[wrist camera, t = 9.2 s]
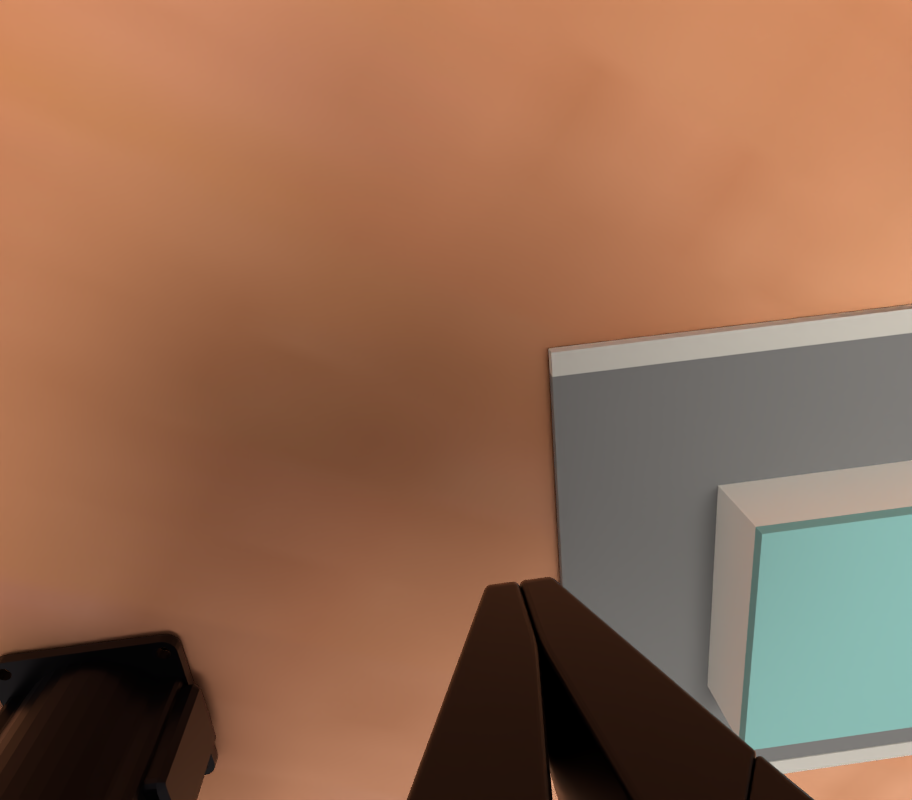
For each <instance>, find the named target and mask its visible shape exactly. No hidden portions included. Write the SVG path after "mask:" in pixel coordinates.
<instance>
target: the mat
mask: <svg viewBox="0 0 912 800" xmlns="http://www.w3.org/2000/svg"><path fill="white" fill-rule="evenodd" d="M548 351H549V370H550V390H551V409H552V428H553V448H554V467H555V486H556V506H557V525H558V545H559V564H560V583H561V585H562V586H563V587H564V588H565V589H567V590H568V591H569V592H570V593H571V594H573V595H574V596H575V597H576V598H577V599H578V600H580V601H581V602H582V603H583V604H584V605H585V606H587V607H588V608H589V609H590V610H591V611H592V612H594V613H595V614H596V615H597V616H598V617H599V618H601V619H602V620H603V621H604V622H605V623H606V624H608V625H609V626H610V627H611V628H612V629H613V630H615V631H616V632H617V633H618V634H619V635H620V636H622V637H623V638H624V639H625V640H626V641H628V642H629V643H630V644H631V645H632V646H633V647H635V648H636V649H637V650H638V651H639V652H640V653H642V654H643V655H644V656H645V657H646V658H647V659H649V660H650V661H651V662H652V663H653V664H654V665H656V666H657V667H658V668H659V669H660V670H661V671H663V672H664V673H665V674H666V675H667V676H668V677H670V678H671V679H672V680H673V681H674V682H675V683H677V684H678V685H679V686H680V687H681V688H683V689H684V690H685V691H686V692H687V693H688V694H690V695H691V696H692V697H693V698H694V699H695V700H697V701H698V702H699V703H700V704H701V705H702V706H704V707H705V708H706V709H707V710H708V711H709V712H711V713H712V714H713V715H714V716H715V717H716V718H718V719H719V720H720V721H721V722H722V723H723V724H725V725H726V726H727V727H728V728H729V729H731V727H730V725H729V724H728V722H727V720H726V718H725V716H724V715H723V713H722V711H721V709H720V707H719V706H718V704H717V702H716V700H715V698H714V697H713V695H712V693H711V691H710V689H709V688H708V686H707V685H708V666H709V647H710V629H711V610H712V591H713V572H714V553H715V535H716V516H717V497H718V485H725V484H733V483H741V482H749V481H756V480H764V479H772V478H779V477H787V476H795V475H803V474H810V473H818V472H826V471H834V470H841V469H849V468H857V467H864V466H872V465H880V464H888V463H895V462H903V461H911V460H912V304H910V305H902V306H894V307H885V308H877V309H869V310H861V311H852V312H844V313H836V314H828V315H819V316H811V317H803V318H795V319H786V320H778V321H770V322H762V323H753V324H745V325H737V326H729V327H720V328H712V329H704V330H696V331H687V332H679V333H671V334H663V335H654V336H646V337H638V338H630V339H621V340H613V341H605V342H597V343H589V344H580V345H572V346H564V347H556V348H548ZM731 730H732V729H731ZM755 752H756V757H757V756H762V757H764V758H765V759H766V760H767V761H768V762H770V763H771V764H772V765H773V766H774V767H775V768H777V769H778V770H779V771H780V772H781V773H782V774H785V773H792V772H799V771H806V770H813V769H820V768H826V767H833V766H840V765H847V764H854V763H861V762H868V761H875V760H882V759H889V758H895V757H902V756H909V755H912V727H910V728H903V729H896V730H889V731H882V732H875V733H868V734H861V735H854V736H847V737H840V738H833V739H826V740H819V741H812V742H805V743H798V744H791V745H784V746H777V747H770V748H763V749H756V750H755Z"/></svg>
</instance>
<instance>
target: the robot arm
mask: <svg viewBox="0 0 912 800" xmlns="http://www.w3.org/2000/svg"><path fill="white" fill-rule="evenodd" d="M161 647H162V648H167V649H169V651H165V650H163V649H161ZM5 669H6V670H8V671H10V672H8V671H6V670H5ZM0 701H1V703H2V705H3V707H2V709H1V710H0V800H197V798H198V794H199V791H200V788H201V784H202V781H203V778H204V775H206V774H210V773H211V772H212V771H213V770H214V768H215V765H216V762H217V759H218V758H217V752H216V749H215V746H214V742H215V739H216V735H215V732H214V729H213V725H212V722H211V719H210V716H209V713H208V710H207V707H206V704H205V701H204V698H203V694H202V691H201V689H200V688H199V687H198V686H197V685H196V684H194V682H193V679H192V676H191V672H190V669H189V666H188V663H187V660H186V657H185V654H184V651H183V648H182V645H181V642H180V641H179V639H178V638H176V637H175V636H173V635H170V634H160V635H152V636H145V637H137V638H130V639H122V640H115V641H107V642H100V643H92V644H85V645H77V646H70V647H62V648H55V649H47V650H40V651H32V652H25V653H17V654H10V655H4V656H1V657H0ZM550 773H551V777H552V780H553V784H554V787H555V791H556V794H557V797H558V800H814V799H813V798H811V797H810V796H809V795H808V794H807V793H805V792H804V791H803V790H802V789H800V788H799V787H798V786H797V785H796V784H794V783H793V782H792V781H791V780H790V779H788V778H787V777H786V776H785V775H784V774H782V773H781V772H780V771H779V770H778V769H777V768H775V767H774V766H773V765H772V764H771V763H770V762H768V761H767V760H766V759H765V758H764V757H762V756H757V757H756V752H755V750H754V749H753V748H752V747H750V746H749V745H748V744H747V743H746V742H745V741H743V740H742V739H741V738H740V737H739V736H738V735H736V734H735V733H734V732H733V731H732V730H731V729H729V728H728V727H727V726H726V725H725V724H723V723H722V722H721V721H720V720H719V719H718V718H716V717H715V716H714V715H713V714H712V713H711V712H709V711H708V710H707V709H706V708H705V707H704V706H702V705H701V704H700V703H699V702H698V701H697V700H695V699H694V698H693V697H692V696H691V695H690V694H688V693H687V692H686V691H685V690H684V689H683V688H681V687H680V686H679V685H678V684H677V683H675V682H674V681H673V680H672V679H671V678H670V677H668V676H667V675H666V674H665V673H664V672H663V671H661V670H660V669H659V668H658V667H657V666H656V665H654V664H653V663H652V662H651V661H650V660H649V659H647V658H646V657H645V656H644V655H643V654H642V653H640V652H639V651H638V650H637V649H636V648H635V647H633V646H632V645H631V644H630V643H629V642H628V641H626V640H625V639H624V638H623V637H622V636H620V635H619V634H618V633H617V632H616V631H615V630H613V629H612V628H611V627H610V626H609V625H608V624H606V623H605V622H604V621H603V620H602V619H601V618H599V617H598V616H597V615H596V614H595V613H594V612H592V611H591V610H590V609H589V608H588V607H587V606H585V605H584V604H583V603H582V602H581V601H580V600H578V599H577V598H576V597H575V596H574V595H573V594H571V593H570V592H569V591H568V590H567V589H565V588H564V587H563V586H562V585H561V584H560V583H558V582H557V581H556V580H555V579H553V578H551V577H545V578H538V579H530V580H524V581H522V582H521V584H520V586H519V585H518V583H516V582H508V583H500V584H493V585H488V586H487V587H486V588H485V590H484V592H483V595H482V598H481V601H480V603H479V606H478V609H477V611H476V614H475V617H474V619H473V622H472V625H471V628H470V630H469V633H468V636H467V638H466V641H465V644H464V647H463V649H462V652H461V655H460V657H459V660H458V663H457V665H456V668H455V671H454V674H453V676H452V679H451V682H450V684H449V687H448V690H447V692H446V695H445V698H444V701H443V703H442V706H441V709H440V711H439V714H438V717H437V720H436V722H435V725H434V728H433V730H432V733H431V736H430V738H429V741H428V744H427V747H426V749H425V752H424V755H423V757H422V760H421V763H420V766H419V768H418V771H417V774H416V776H415V779H414V782H413V784H412V787H411V790H410V793H409V795H408V798H407V800H552V789H551V777H550Z"/></svg>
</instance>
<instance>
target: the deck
mask: <svg viewBox="0 0 912 800" xmlns="http://www.w3.org/2000/svg"><path fill="white" fill-rule="evenodd" d="M707 686H708V688H709V689H710V691H711V693H712V695H713V697H714V698H715V700H716V702H717V704H718V706H719V707H720V709H721V711H722V713H723V715H724V716H725V718H726V720H727V722H728V724H729V725H730V727H731V729H732V731H733V732H734V733H735V734H736V735H738V736H739V737H740V738H741V739H742V740H743V741H745V742H746V743H747V744H748V745H749V746H750V747H752V748H753V749H754V750H756V749H763V748H770V747H777V746H784V745H791V744H798V743H805V742H812V741H819V740H826V739H833V738H840V737H847V736H854V735H861V734H868V733H875V732H882V731H889V730H896V729H903V728H910V727H912V460H911V461H903V462H895V463H888V464H880V465H872V466H864V467H857V468H849V469H841V470H834V471H826V472H818V473H810V474H803V475H795V476H787V477H779V478H772V479H764V480H756V481H749V482H741V483H733V484H725V485H718V497H717V516H716V535H715V553H714V572H713V591H712V610H711V629H710V647H709V666H708V685H707Z"/></svg>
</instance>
